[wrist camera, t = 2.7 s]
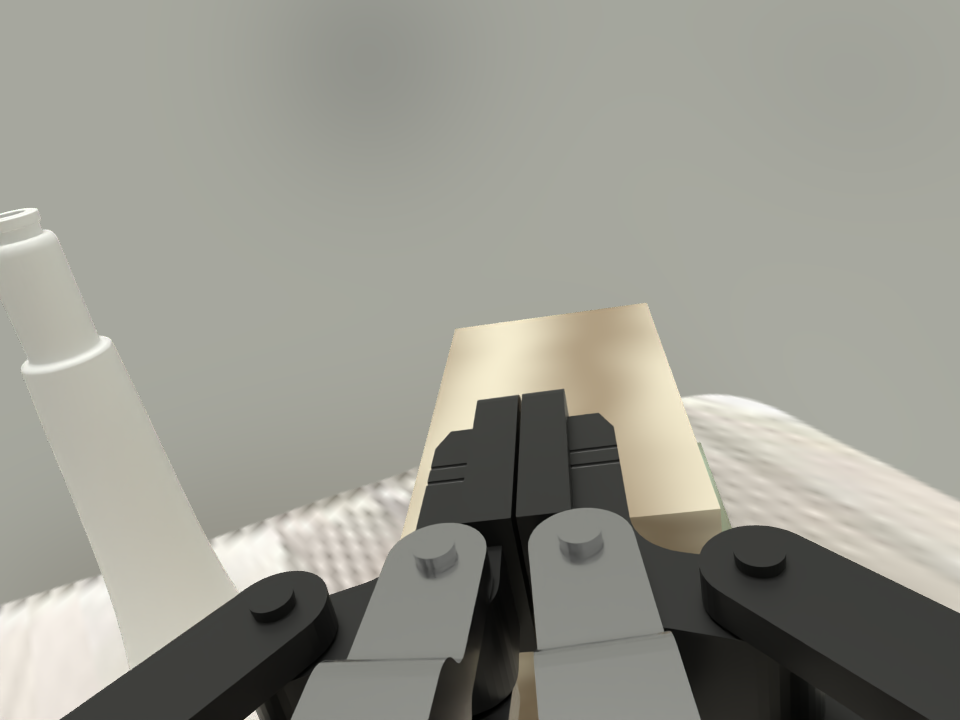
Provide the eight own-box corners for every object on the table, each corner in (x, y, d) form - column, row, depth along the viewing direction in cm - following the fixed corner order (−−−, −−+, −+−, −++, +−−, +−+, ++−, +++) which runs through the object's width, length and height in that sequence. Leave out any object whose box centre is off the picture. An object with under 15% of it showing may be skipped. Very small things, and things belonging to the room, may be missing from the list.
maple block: (481, 839, 24) (400, 539, 19) (501, 553, 37) (455, 328, 32) (737, 828, 23) (720, 508, 18) (667, 537, 36) (646, 302, 31)
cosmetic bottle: (272, 634, 38) (106, 197, 29) (153, 712, 34) (-77, 247, 25) (225, 582, 42) (68, 190, 33) (115, 646, 39) (-92, 231, 30)
